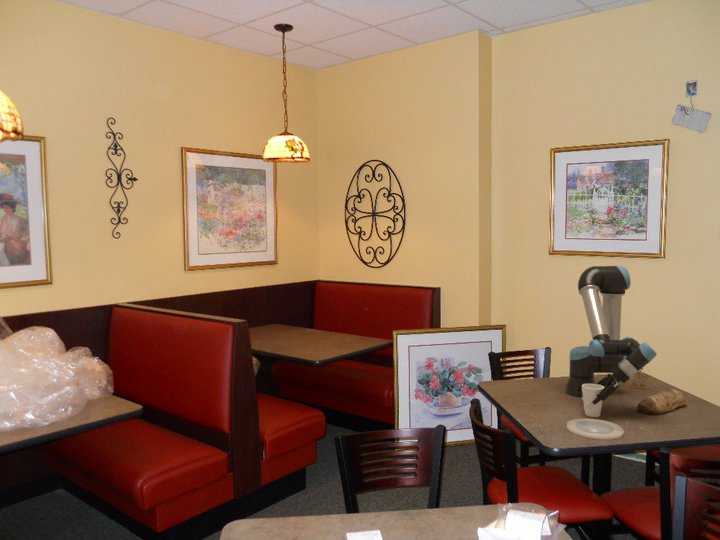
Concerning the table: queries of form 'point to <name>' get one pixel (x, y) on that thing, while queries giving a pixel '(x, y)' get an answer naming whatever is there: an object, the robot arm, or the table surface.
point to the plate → (595, 429)
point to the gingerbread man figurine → (639, 382)
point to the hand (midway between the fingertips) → (585, 404)
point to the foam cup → (589, 394)
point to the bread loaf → (662, 402)
